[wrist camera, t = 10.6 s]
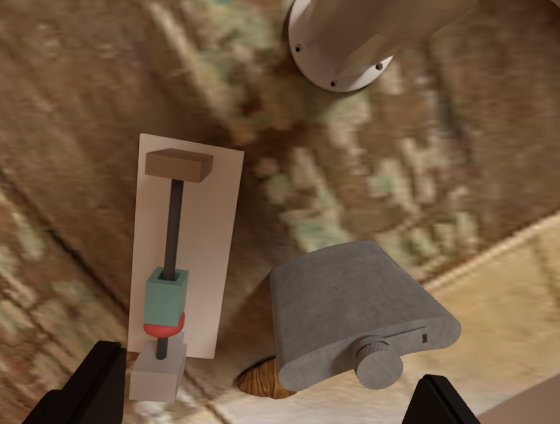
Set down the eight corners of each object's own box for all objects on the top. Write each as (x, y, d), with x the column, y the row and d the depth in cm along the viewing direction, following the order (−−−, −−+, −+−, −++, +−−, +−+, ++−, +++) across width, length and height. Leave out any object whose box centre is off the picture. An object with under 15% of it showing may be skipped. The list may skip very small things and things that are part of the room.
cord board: (144, 133, 35) (104, 134, 26) (244, 151, 36) (240, 158, 27) (130, 345, 42) (96, 404, 33) (214, 353, 44) (203, 411, 35)
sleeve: (157, 266, 34) (146, 282, 30) (189, 270, 34) (181, 286, 31) (154, 304, 35) (143, 323, 32) (184, 307, 36) (177, 326, 32)
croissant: (316, 335, 45) (323, 360, 40) (326, 370, 47) (334, 397, 42) (231, 360, 45) (228, 387, 40) (244, 393, 47) (243, 423, 42)
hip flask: (272, 289, 42) (286, 424, 23) (264, 264, 41) (272, 384, 21) (379, 257, 42) (485, 365, 23) (374, 231, 41) (481, 322, 21)
